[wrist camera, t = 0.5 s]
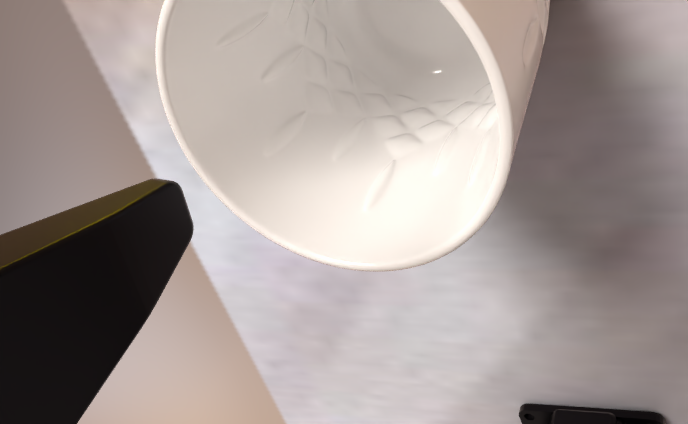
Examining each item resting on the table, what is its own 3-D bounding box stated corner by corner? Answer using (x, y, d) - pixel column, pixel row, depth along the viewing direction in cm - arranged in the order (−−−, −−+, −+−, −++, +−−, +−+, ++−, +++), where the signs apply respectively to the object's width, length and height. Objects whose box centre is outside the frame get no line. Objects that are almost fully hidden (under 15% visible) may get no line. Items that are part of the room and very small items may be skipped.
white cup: (636, -93, 16) (605, 56, 9) (499, 125, 22) (413, 323, 15) (381, -216, 17) (172, -165, 10) (310, 26, 23) (142, 169, 16)
